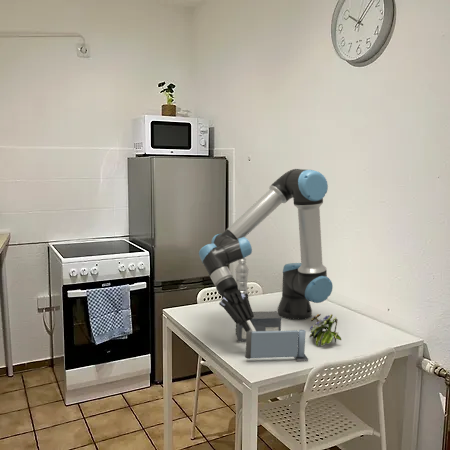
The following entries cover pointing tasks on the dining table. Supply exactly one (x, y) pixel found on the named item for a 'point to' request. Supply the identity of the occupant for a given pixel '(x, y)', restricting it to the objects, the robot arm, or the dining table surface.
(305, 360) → the arm mount
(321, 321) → the passion flower
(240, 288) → the plastic bottle
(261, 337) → the blue-grey flat panel
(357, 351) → the dining table surface
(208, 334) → the dining table surface
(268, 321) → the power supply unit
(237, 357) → the dining table surface
